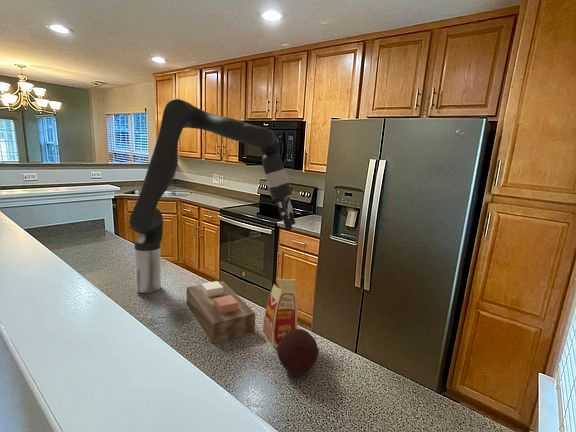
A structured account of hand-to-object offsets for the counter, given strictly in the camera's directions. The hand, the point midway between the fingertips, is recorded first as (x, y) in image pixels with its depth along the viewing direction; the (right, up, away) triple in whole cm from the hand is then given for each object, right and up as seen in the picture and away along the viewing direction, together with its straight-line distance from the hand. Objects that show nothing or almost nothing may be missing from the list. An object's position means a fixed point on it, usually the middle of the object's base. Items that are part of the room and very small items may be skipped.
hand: (291, 227), depth 114 cm
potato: (+1, -37, -29) cm, 47 cm away
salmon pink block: (-21, -27, -12) cm, 37 cm away
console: (-25, -31, -5) cm, 40 cm away
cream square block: (-28, -25, -1) cm, 38 cm away
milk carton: (-4, -34, -15) cm, 38 cm away
